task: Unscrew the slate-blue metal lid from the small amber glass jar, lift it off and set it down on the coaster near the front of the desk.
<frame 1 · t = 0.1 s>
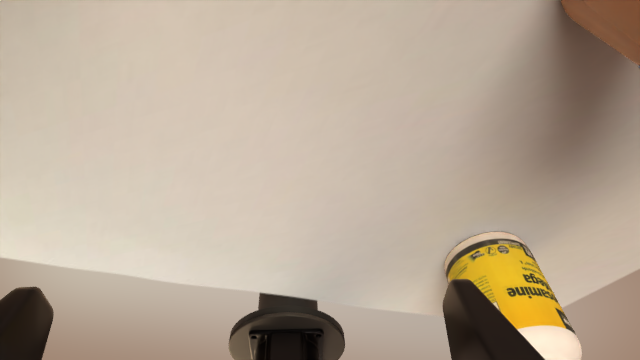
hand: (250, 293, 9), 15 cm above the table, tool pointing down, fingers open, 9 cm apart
pill bottle: (482, 254, 32), on the table
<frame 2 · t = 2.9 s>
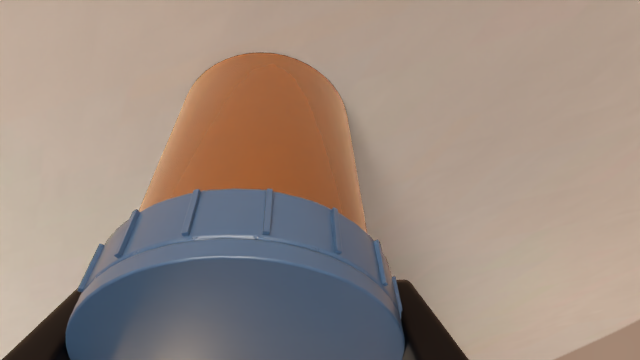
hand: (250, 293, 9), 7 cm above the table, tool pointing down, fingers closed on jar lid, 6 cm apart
jar: (266, 130, 15), on the table
jar lid: (243, 345, 9), point 8 cm above the table, screwed on, not yet turned, touching gripper
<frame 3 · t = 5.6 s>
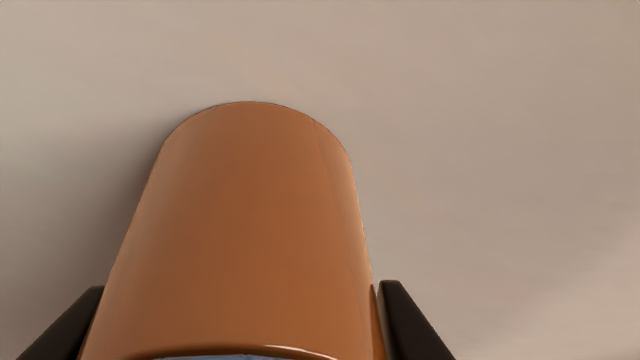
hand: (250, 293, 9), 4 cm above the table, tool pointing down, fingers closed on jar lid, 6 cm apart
jar: (256, 186, 12), on the table
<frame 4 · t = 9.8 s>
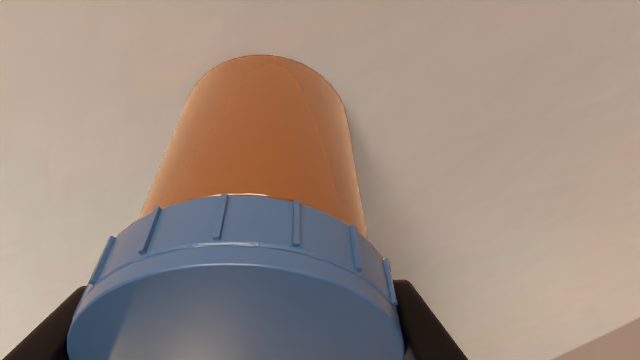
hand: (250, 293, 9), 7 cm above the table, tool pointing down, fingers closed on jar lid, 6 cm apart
jar: (266, 131, 15), on the table
jar lid: (244, 350, 9), point 8 cm above the table, turned 123° so far, risen 0.2 cm, still on its thread, touching gripper
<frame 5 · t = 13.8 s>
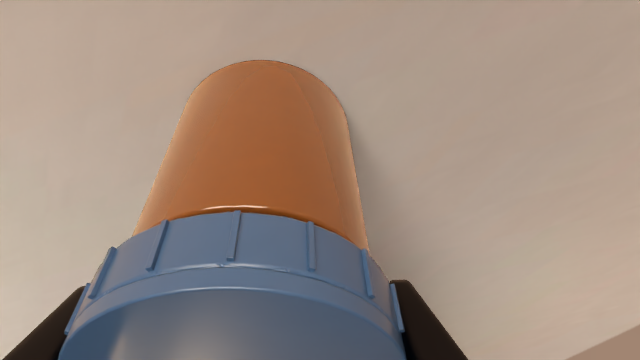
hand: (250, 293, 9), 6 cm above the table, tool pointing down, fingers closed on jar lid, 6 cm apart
jar: (266, 136, 15), on the table
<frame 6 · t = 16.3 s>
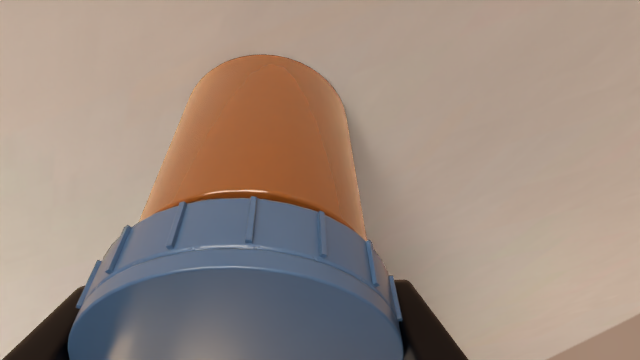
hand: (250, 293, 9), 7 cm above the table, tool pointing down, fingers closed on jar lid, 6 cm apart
jar: (267, 130, 15), on the table
jar lid: (244, 352, 9), point 8 cm above the table, turned 247° so far, risen 0.3 cm, still on its thread, touching gripper
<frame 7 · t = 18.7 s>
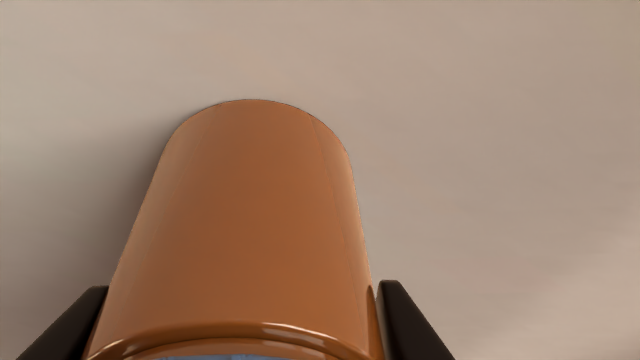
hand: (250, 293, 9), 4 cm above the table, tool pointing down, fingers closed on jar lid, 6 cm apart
jar: (258, 182, 13), on the table, touching gripper
when the fingers open (3 cm above the table, at t = 28.0 s): jar lid drops 3 cm, resting on coaster.
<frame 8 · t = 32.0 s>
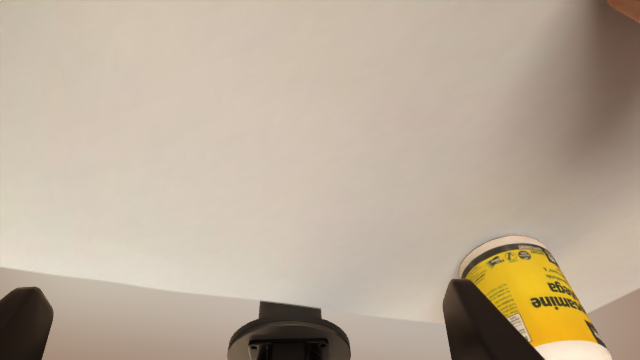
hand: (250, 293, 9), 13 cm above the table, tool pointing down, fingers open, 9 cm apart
pill bottle: (500, 260, 30), on the table
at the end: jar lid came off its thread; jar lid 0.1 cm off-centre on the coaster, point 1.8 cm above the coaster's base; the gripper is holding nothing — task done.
